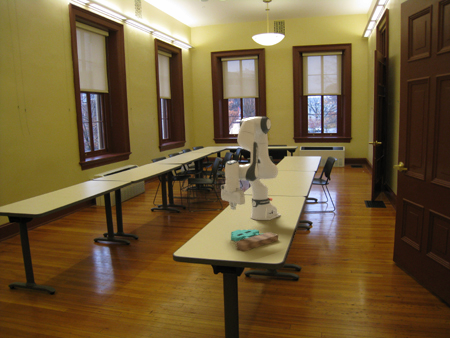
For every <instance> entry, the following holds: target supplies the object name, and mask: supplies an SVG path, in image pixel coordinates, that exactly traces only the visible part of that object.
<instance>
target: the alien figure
mask: <svg viewBox="0 0 450 338" xmlns="http://www.w3.org/2000/svg"><path fill="white" fill-rule="evenodd" d="M260 234H264V232H262V233H260V230H259V229H255V228H253V229H249V228H248V229H236V230H233V231H231V234H230V240H231V241H232V242H233V241H234V242H236V241H239V240H243V239H246V238H250V237H253V236H257V235H260Z"/></svg>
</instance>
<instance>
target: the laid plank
mask: <svg viewBox="0 0 450 338" xmlns="http://www.w3.org/2000/svg"><path fill="white" fill-rule="evenodd" d="M263 233H264V232H263ZM259 234H260V235H257V236H253V237H250V238H246V239H242V240H239V241H234V244H236V249H237V250H240V251H242V252H246V251H249V250H252V249H255V248H258V247H261V246H266V245H268V244H271V243H274V242H277V241H279V235H278V234H276V233H273V232H270V231H267V232H265V233H264V234H261V233H259Z"/></svg>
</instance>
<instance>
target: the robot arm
mask: <svg viewBox="0 0 450 338" xmlns="http://www.w3.org/2000/svg"><path fill="white" fill-rule="evenodd" d="M271 127H272V121H271V119H270V118H269V117H268V116H264V115H263V116H253V117H252V116H251V117H245V118H242V119H241V120H240V122H239V130H238V134H237V140H236V141H237V144H238V145H239V147H240V148H242V149H243V150H245V151H248V152H250V162H249V163H246V164H245V163H244V164H240V163H239V161H238V160H233V159H231V160H228V161H226V162H225V167H224V177H225V181H224V183H225V184H221V185H220V189H221V190H220V198H221V200H222V201H226V202H228V203H229V206H230V210H233V211H235V210H236V208H237V205H245V203H246V197H245V193H244V190H243V189H242V188H241V182H240V181H247V182H248V183H249V184H250V186H251V195H252V198H251V212H250V213H251V214H250V218H251V220H256V221H257V220H258V221H270V220H273V219H276V218H279V217H281V216H282V215H281V213H279V212H278V208H277V207H276V205H274V204H272V203H271V202H273V198H272V197H269V187H267V185H266V184H264V183H262V182H261V180H271V179H272V180H273V179H276V178H277V176H278V174H279V168H278V166H277V165H276V164H275V163H273V162H272V160H271V157H270V156H269V139H268V138H269V137H268V132H270V130H271Z"/></svg>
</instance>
